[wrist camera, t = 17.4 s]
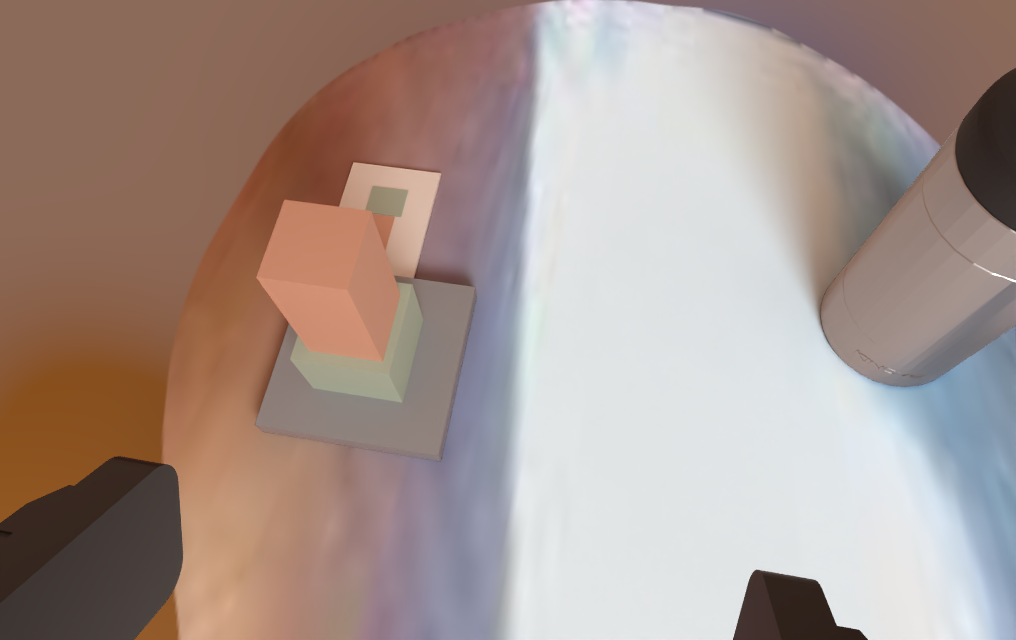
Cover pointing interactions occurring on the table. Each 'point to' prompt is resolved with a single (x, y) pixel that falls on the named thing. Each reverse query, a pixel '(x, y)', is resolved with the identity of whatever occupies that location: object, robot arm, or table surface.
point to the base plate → (376, 420)
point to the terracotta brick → (331, 279)
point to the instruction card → (395, 209)
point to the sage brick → (368, 374)
